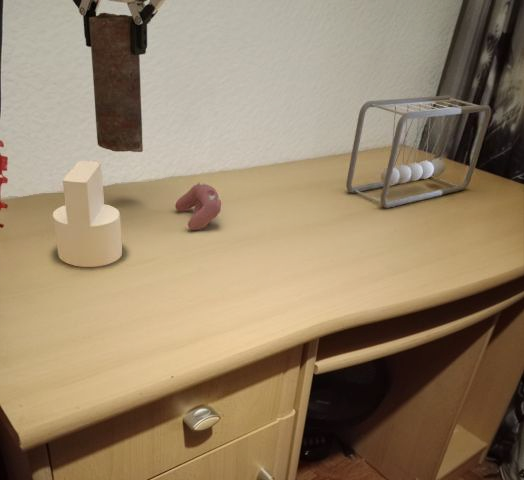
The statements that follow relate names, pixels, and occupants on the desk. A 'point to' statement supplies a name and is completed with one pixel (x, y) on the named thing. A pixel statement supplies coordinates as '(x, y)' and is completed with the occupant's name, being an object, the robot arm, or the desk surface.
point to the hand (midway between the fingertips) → (116, 49)
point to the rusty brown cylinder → (116, 83)
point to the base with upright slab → (87, 220)
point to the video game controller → (200, 205)
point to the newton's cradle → (415, 169)
